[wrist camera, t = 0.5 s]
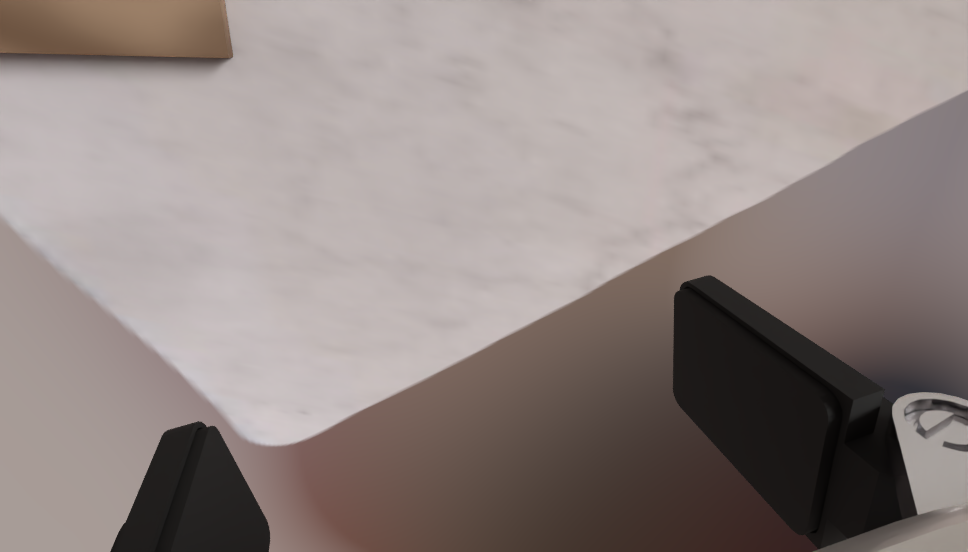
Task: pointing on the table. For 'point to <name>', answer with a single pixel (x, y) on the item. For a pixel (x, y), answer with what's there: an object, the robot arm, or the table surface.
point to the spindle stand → (116, 27)
